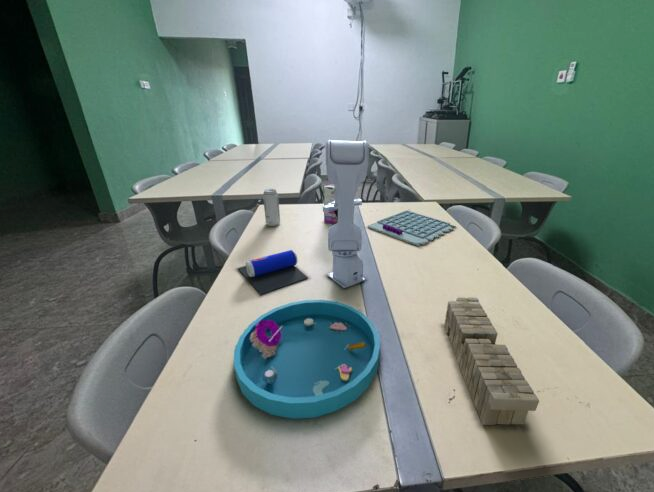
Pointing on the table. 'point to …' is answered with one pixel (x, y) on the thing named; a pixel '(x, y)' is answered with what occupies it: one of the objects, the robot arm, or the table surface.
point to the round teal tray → (307, 358)
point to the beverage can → (271, 263)
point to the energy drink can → (271, 207)
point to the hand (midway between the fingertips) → (343, 228)
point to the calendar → (412, 227)
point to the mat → (274, 279)
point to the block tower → (487, 366)
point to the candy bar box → (329, 199)
